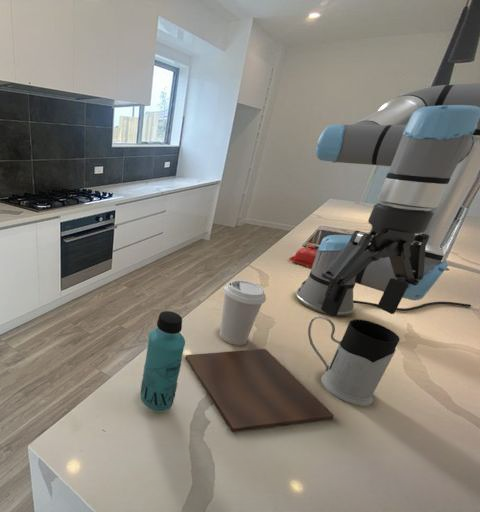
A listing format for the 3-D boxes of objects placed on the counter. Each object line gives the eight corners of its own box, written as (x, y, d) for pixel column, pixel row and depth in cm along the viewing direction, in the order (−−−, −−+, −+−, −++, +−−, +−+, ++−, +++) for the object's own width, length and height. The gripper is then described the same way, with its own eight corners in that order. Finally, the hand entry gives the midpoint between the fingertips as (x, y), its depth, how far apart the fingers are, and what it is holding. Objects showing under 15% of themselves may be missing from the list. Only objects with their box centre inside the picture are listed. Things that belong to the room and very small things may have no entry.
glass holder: (367, 413, 58) (400, 351, 52) (288, 370, 68) (308, 314, 62) (376, 391, 63) (407, 333, 58) (301, 355, 73) (321, 302, 68)
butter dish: (296, 256, 139) (301, 239, 135) (325, 264, 130) (332, 246, 127) (286, 261, 132) (292, 243, 128) (316, 271, 124) (323, 252, 120)
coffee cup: (220, 322, 85) (231, 274, 79) (256, 336, 79) (271, 286, 74) (208, 337, 78) (220, 286, 72) (247, 354, 72) (263, 301, 67)
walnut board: (264, 351, 74) (265, 348, 73) (332, 419, 56) (334, 415, 56) (185, 358, 70) (185, 355, 70) (232, 432, 53) (233, 428, 52)
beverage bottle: (131, 403, 57) (142, 315, 50) (152, 385, 62) (164, 301, 54) (160, 425, 53) (176, 333, 46) (179, 404, 58) (197, 317, 50)
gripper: (435, 202, 57) (388, 299, 65) (323, 199, 53) (288, 304, 60) (489, 212, 50) (429, 319, 58) (365, 209, 46) (319, 325, 54)
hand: (357, 311), depth 59 cm, fingers open, 13 cm apart
